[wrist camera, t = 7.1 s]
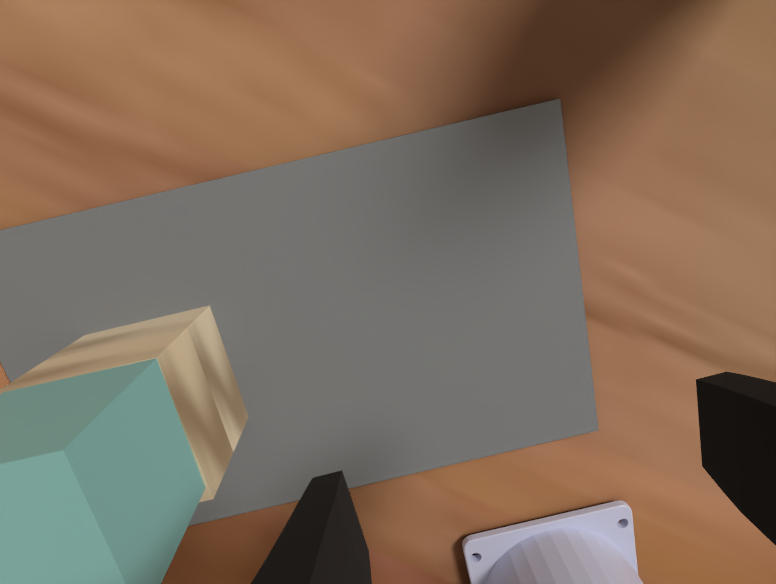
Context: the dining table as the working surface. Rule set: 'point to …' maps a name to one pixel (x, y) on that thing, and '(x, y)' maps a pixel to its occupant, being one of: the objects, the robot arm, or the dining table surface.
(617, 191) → the dining table surface
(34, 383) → the tower upper
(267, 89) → the dining table surface
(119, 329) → the tower lower
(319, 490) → the robot arm
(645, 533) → the dining table surface
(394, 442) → the slate mat
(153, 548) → the teal block
